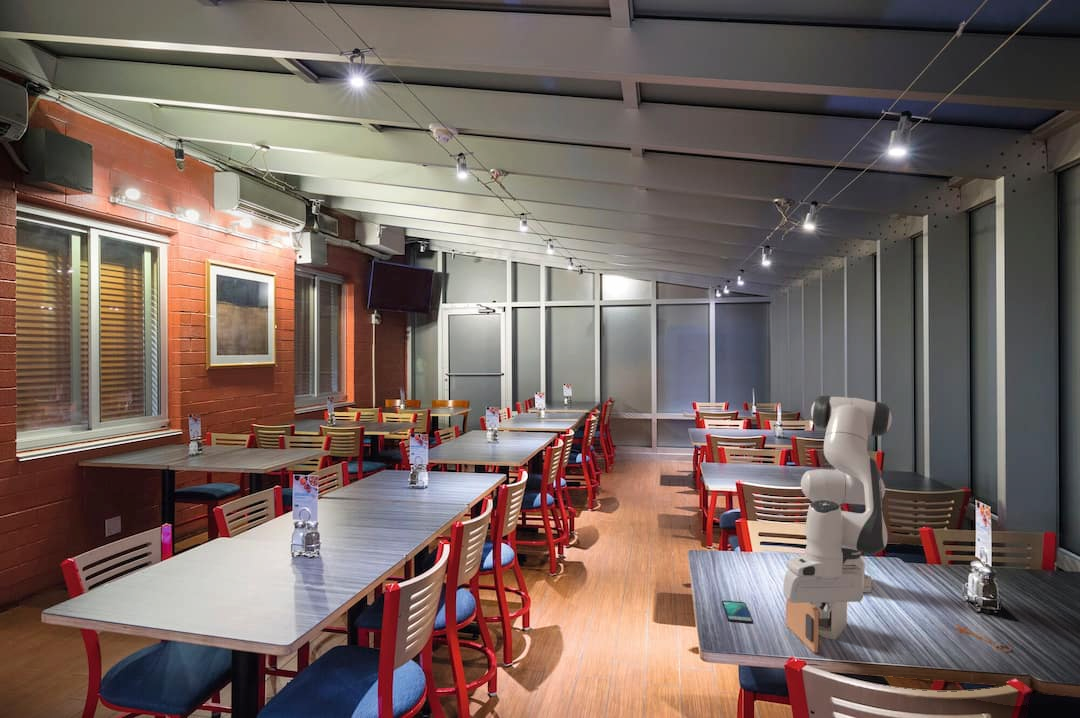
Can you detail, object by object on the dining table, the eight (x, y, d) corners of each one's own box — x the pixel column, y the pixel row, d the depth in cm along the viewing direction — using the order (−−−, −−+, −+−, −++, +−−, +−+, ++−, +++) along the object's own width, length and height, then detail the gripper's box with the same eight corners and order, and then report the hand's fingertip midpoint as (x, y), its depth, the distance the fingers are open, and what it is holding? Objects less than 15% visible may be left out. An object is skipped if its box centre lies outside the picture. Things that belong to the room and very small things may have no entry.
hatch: (789, 624, 169) (789, 586, 169) (817, 652, 153) (818, 609, 153) (783, 624, 169) (784, 586, 169) (811, 652, 153) (812, 609, 153)
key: (947, 630, 170) (996, 655, 156) (947, 627, 170) (996, 652, 156) (964, 627, 171) (1014, 652, 157) (964, 624, 171) (1014, 648, 157)
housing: (802, 613, 178) (803, 573, 178) (846, 625, 170) (847, 583, 170) (789, 626, 169) (790, 584, 169) (835, 639, 161) (835, 595, 161)
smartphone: (728, 620, 171) (721, 599, 186) (728, 623, 171) (721, 602, 186) (753, 622, 170) (745, 602, 185) (753, 625, 170) (745, 604, 185)
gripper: (853, 560, 159) (853, 612, 159) (780, 561, 157) (779, 613, 157) (869, 568, 152) (868, 622, 152) (793, 569, 151) (792, 624, 150)
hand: (822, 618), depth 155 cm, fingers closed
